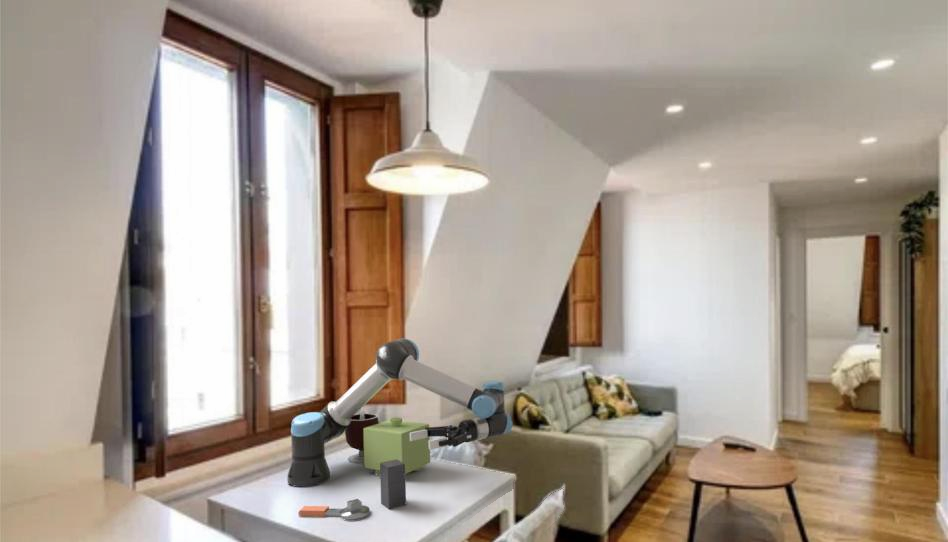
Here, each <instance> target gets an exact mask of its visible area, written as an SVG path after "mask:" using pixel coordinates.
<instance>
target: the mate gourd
mask: <svg viewBox="0 0 948 542" xmlns="http://www.w3.org/2000/svg"><path fill="white" fill-rule="evenodd" d="M364 406H365V405H364ZM364 406H363V407H362V408H361V409H360V412H359V413H355V414H354V415H353V416H352V417H351V423H350V424H349V425H348V426H347V428H346V430H345V431H344V436H345V440H346V443H347V444H348V446H349V447H350V448H351V449H354V450H358V453H355V454H352V455H349V456H348V457H347V462H348V461H349V462H348V463H352V464H364V428H366V427H369V426H372V425H375V424H378V423H380V421H379V418H378V414H376V413H365V408H364Z"/></svg>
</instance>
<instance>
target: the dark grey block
mask: <svg viewBox="0 0 948 542" xmlns="http://www.w3.org/2000/svg"><path fill="white" fill-rule="evenodd" d="M379 477H380V478H379V479H380V504H381V505H382V506H384V507H385V508H387V509H388V510H392V509H395V508H400V507H404V506H406V505H407V491H406V489H407V488H406V486H407V484H406V474H405V463H403V462H401V461H399V460H397V459H396V460H391V461H387V462H382V463H380V475H379Z"/></svg>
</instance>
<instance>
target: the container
mask: <svg viewBox="0 0 948 542" xmlns="http://www.w3.org/2000/svg"><path fill="white" fill-rule="evenodd" d="M426 427H430V423H424V422H416V421H408V420H403V418H402V417H392V418H390V419H388V420H385V421H382V422H379V423H378V424H375V425H372V426H369V427H366V428H364V463H363V464H364V465H363V467H364V468H366V469H371V470H375V471H374V473H375V474H380V463H382V462H387V461H391V460H396V459H397V460H399V461H401V462H403V463H405V475H406V474H409V473H410V472H418V471H417V470H419V471H421V470H422V469H421V467H423V466H426V465H429V464H430V463H431V450H429V441H430V439H431V438H430V437H428V438H427V439H426V438H424V439H419V440H414V441H410V433H411V432H416V431H421V430H425V428H426ZM420 469H421V470H420ZM375 474H374V475H375Z"/></svg>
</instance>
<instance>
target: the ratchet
mask: <svg viewBox="0 0 948 542" xmlns="http://www.w3.org/2000/svg"><path fill="white" fill-rule="evenodd" d="M346 503H347V504H346V505H347V506H346V507H343V508H330V507H329V505H304V506H303V507H302V508H300V509H299V511H297V512H298V513H297V514H298V515H300V516H299V517H314V516H318V517H319V518H320V517H321V518H323V517H339V519H341V518H342V519H345V520H344V521H346V520H355V521H360V520H363V519H365V518H367V517H368V516H369V515H370V514H369V513H370V512H371V511H370V507H369V506H367V505H365V504H364V505H363V503H362V501H361V500H360V499H359V498H355V499H351V500H348V501H346ZM342 519H341V520H342ZM359 519H360V520H359Z"/></svg>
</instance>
